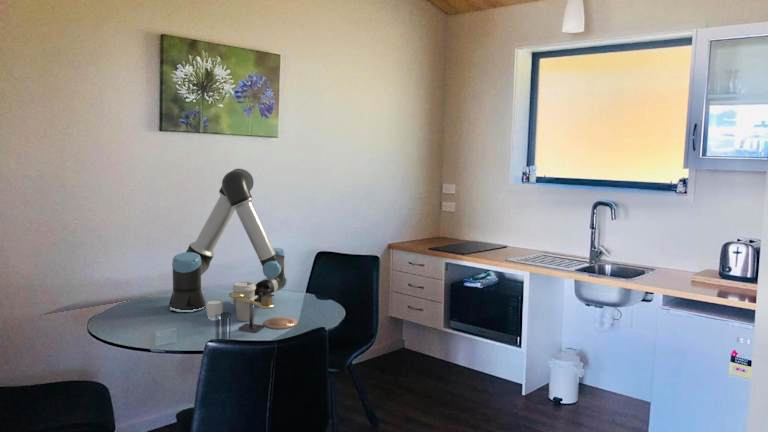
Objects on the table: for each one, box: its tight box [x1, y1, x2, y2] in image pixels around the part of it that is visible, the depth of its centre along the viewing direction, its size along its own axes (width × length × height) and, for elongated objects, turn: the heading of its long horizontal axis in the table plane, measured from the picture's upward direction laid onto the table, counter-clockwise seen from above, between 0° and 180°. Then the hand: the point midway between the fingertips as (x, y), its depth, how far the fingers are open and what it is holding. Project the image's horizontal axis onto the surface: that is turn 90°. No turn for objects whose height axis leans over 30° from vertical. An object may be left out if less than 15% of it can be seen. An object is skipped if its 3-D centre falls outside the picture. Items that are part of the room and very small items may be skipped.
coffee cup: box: [232, 280, 256, 322], centre depth 256 cm, size 10×10×15 cm
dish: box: [264, 316, 298, 330], centre depth 253 cm, size 13×13×1 cm
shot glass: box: [205, 299, 224, 318], centre depth 256 cm, size 7×7×7 cm
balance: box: [228, 291, 275, 334], centre depth 245 cm, size 19×6×14 cm, turn 75°
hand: (241, 301), depth 252 cm, fingers closed on coffee cup, 7 cm apart
